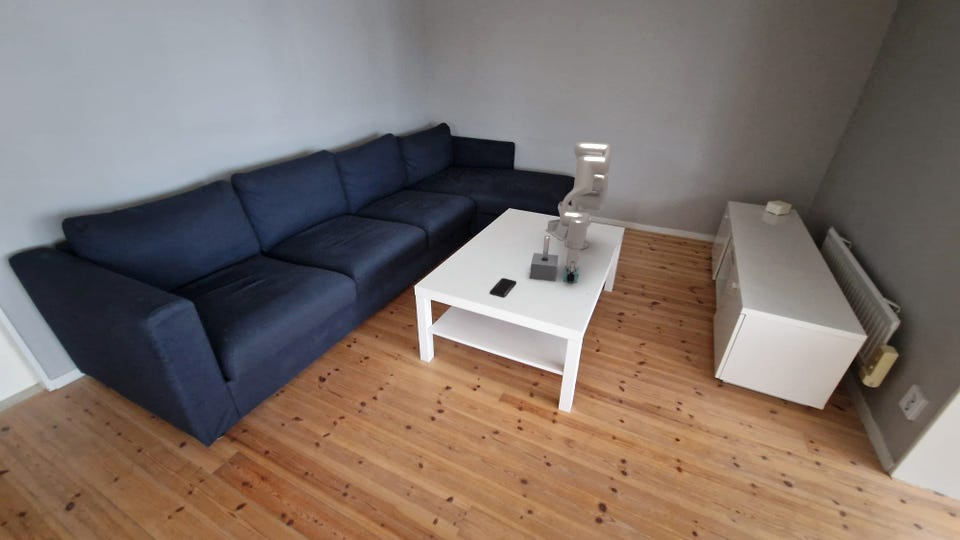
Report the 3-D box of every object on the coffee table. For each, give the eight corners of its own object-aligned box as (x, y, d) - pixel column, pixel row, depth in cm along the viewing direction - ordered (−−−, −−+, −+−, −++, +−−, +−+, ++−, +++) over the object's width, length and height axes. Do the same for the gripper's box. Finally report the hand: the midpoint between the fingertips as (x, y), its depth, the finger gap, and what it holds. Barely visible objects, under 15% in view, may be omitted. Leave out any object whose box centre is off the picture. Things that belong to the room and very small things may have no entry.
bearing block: (532, 266, 200) (533, 252, 196) (556, 269, 197) (558, 255, 193) (529, 278, 189) (531, 263, 186) (555, 281, 187) (556, 266, 183)
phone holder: (545, 230, 242) (547, 202, 233) (559, 228, 245) (562, 200, 237) (560, 241, 228) (564, 211, 219) (575, 238, 231) (579, 209, 223)
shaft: (542, 261, 192) (544, 235, 185) (547, 262, 191) (549, 235, 185) (541, 263, 190) (544, 237, 183) (546, 264, 189) (549, 237, 182)
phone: (517, 281, 185) (504, 296, 173) (517, 283, 186) (504, 298, 174) (502, 277, 188) (488, 292, 177) (501, 279, 189) (488, 294, 177)
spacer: (563, 274, 192) (564, 266, 190) (577, 276, 191) (578, 267, 189) (563, 281, 187) (564, 272, 185) (576, 282, 186) (578, 273, 183)
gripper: (567, 235, 188) (563, 268, 197) (565, 250, 173) (561, 285, 182) (583, 237, 187) (578, 270, 195) (583, 252, 172) (578, 287, 181)
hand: (570, 277), depth 189 cm, fingers closed on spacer, 6 cm apart
